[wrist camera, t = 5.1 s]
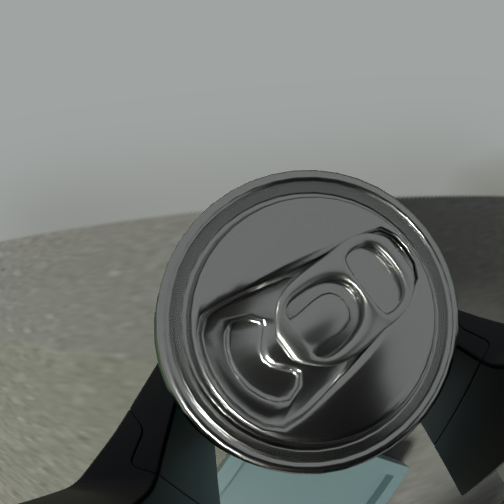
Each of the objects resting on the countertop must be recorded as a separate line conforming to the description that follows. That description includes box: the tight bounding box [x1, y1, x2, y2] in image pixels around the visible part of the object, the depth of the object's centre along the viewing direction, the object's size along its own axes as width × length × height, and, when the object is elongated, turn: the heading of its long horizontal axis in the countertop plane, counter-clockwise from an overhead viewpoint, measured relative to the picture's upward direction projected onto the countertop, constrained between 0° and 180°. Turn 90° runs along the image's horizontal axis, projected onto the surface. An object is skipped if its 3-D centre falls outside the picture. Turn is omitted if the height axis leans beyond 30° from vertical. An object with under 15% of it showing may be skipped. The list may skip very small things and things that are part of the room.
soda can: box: [154, 170, 458, 474], centre depth 9 cm, size 5×5×12 cm
